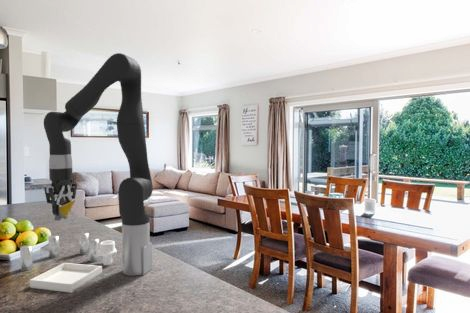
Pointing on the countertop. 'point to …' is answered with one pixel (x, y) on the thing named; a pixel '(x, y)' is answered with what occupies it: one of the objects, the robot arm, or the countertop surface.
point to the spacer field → (84, 248)
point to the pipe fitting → (107, 251)
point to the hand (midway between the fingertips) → (62, 212)
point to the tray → (66, 277)
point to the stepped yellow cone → (64, 211)
